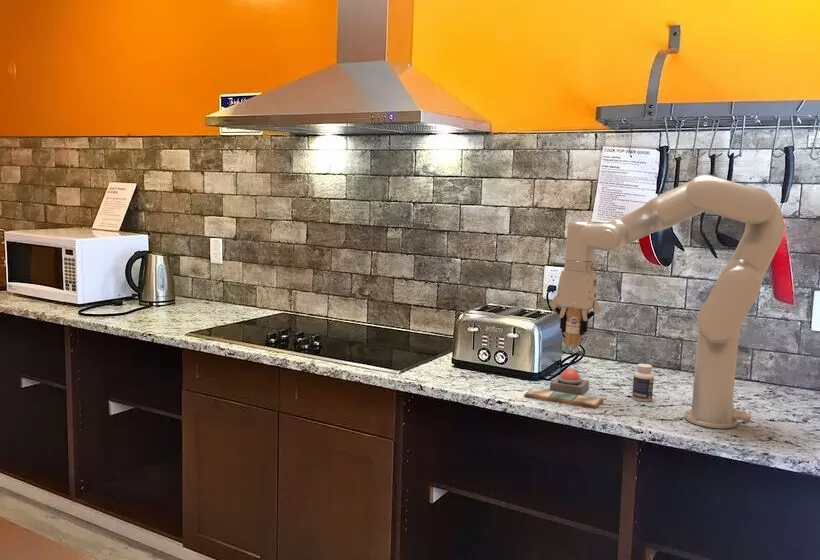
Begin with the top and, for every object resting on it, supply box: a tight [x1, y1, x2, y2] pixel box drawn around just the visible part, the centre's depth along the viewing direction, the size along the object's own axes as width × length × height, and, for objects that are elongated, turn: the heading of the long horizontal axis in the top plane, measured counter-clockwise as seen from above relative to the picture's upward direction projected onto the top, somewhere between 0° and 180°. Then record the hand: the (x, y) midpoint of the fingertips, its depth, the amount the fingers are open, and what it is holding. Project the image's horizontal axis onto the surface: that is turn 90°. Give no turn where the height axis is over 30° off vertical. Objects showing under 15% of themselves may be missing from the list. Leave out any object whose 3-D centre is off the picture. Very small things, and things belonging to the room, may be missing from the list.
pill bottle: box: [631, 363, 655, 403], centre depth 211 cm, size 5×5×10 cm
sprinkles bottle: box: [563, 301, 583, 347], centre depth 205 cm, size 5×5×14 cm
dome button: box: [557, 368, 583, 385], centre depth 218 cm, size 7×7×6 cm
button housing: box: [549, 375, 590, 396], centre depth 218 cm, size 9×9×3 cm
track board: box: [523, 387, 604, 410], centre depth 209 cm, size 20×8×1 cm, turn 63°
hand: (573, 332), depth 206 cm, fingers closed on sprinkles bottle, 4 cm apart
